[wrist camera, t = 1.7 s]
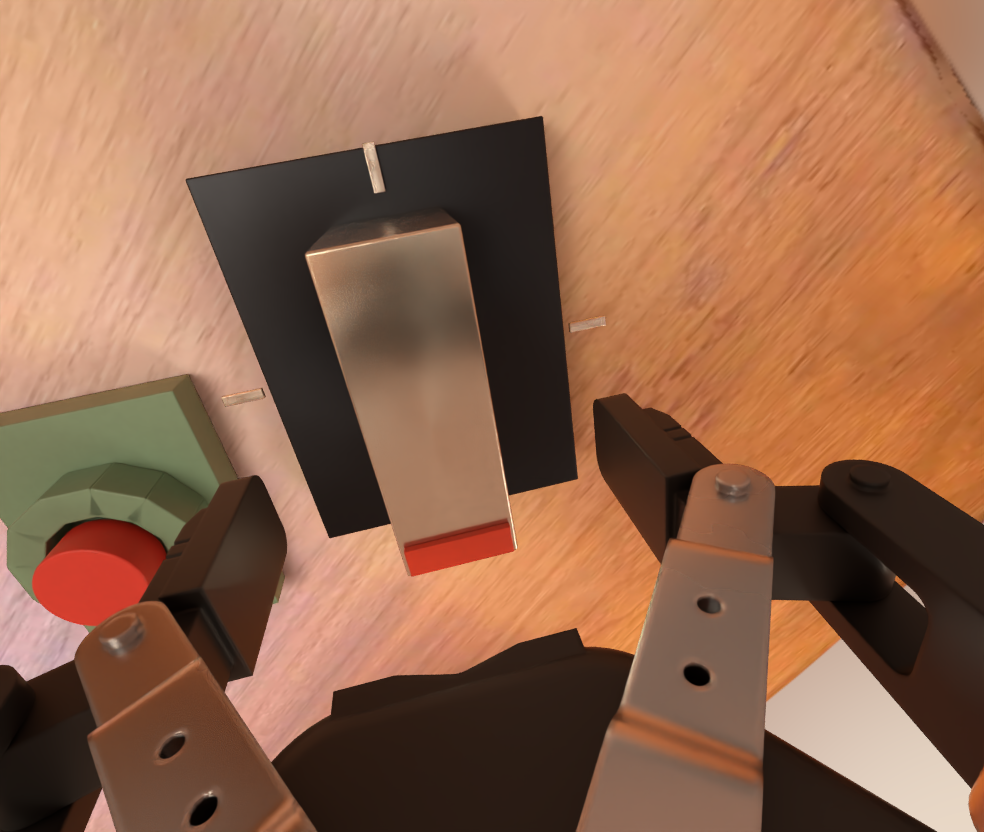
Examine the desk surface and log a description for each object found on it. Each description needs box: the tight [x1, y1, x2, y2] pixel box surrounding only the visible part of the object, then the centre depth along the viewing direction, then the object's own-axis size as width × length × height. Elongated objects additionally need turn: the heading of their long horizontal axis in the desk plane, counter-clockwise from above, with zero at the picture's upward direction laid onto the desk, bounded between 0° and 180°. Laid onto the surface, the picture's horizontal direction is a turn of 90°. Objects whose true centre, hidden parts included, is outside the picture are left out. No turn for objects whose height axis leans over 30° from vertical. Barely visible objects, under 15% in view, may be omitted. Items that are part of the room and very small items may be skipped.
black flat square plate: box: [186, 116, 606, 538], centre depth 20 cm, size 14×14×3 cm
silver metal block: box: [305, 206, 518, 576], centre depth 16 cm, size 10×4×6 cm, turn 9°
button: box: [32, 519, 167, 626], centre depth 19 cm, size 4×4×2 cm
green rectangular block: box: [0, 374, 285, 633], centre depth 21 cm, size 11×8×4 cm
